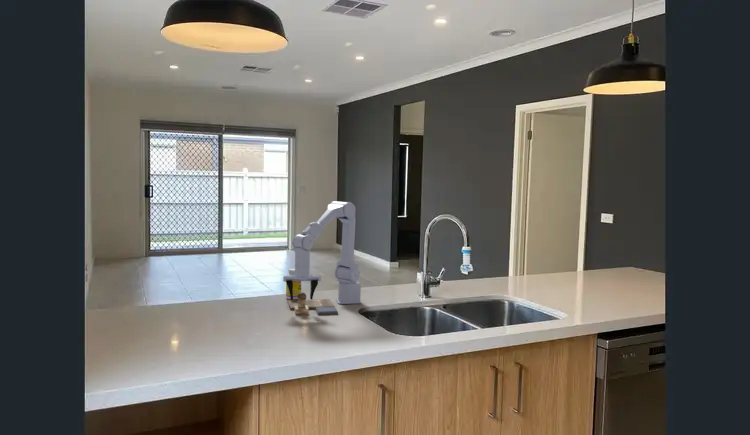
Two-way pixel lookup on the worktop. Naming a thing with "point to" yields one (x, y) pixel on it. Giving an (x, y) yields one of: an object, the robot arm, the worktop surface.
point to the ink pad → (326, 311)
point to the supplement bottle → (295, 286)
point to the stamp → (301, 305)
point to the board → (312, 303)
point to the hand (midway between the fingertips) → (301, 299)
